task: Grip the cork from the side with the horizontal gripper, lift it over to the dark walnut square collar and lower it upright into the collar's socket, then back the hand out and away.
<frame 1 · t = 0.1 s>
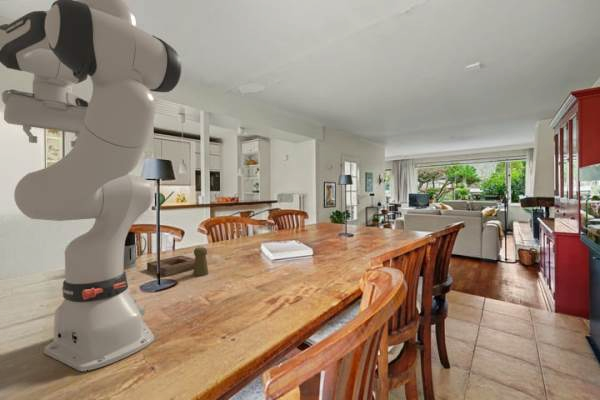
hand: (55, 145, 80), 48 cm above the table, tool pointing down, fingers open, 8 cm apart
walnut collar: (174, 268, 118), on the table
glass holder: (131, 267, 120), on the table
cork: (200, 274, 110), on the table
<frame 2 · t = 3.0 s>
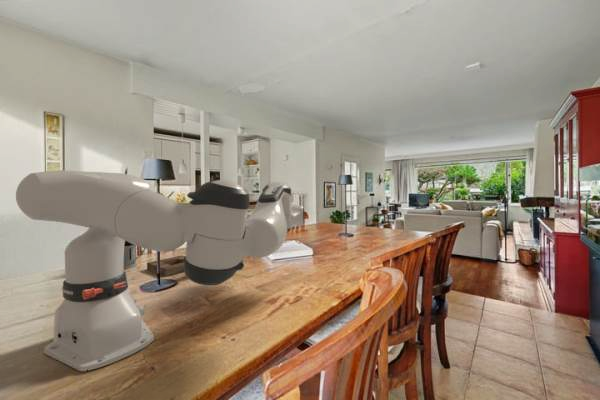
hand: (230, 217, 107), 24 cm above the table, tool horizontal, fingers open, 8 cm apart
nothing on the table moved.
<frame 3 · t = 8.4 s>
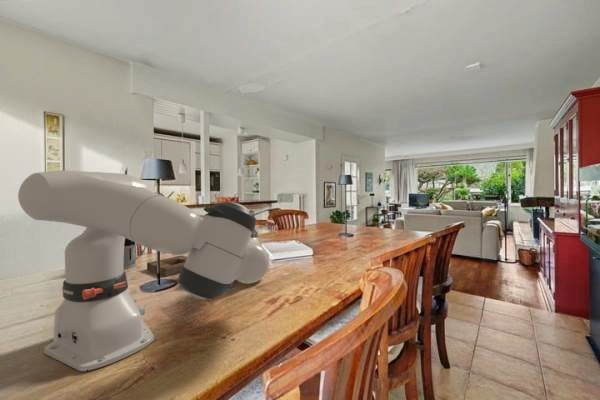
hand: (198, 258, 110), 7 cm above the table, tool horizontal, fingers closed on cork, 4 cm apart
cork: (200, 274, 110), on the table, touching gripper
everything else where it was.
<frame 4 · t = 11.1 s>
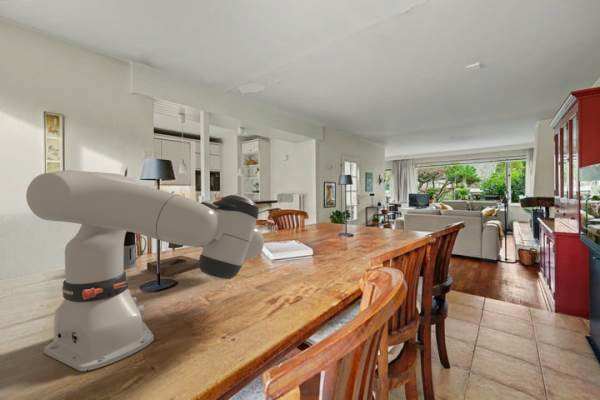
hand: (173, 230, 117), 17 cm above the table, tool horizontal, fingers closed on cork, 4 cm apart
cork: (175, 247, 117), point 9 cm above the table, touching gripper
everything else where it was.
when the fingers open (8 cm above the table, at t = 14.1 s): cork moves 1 cm, resting in walnut collar.
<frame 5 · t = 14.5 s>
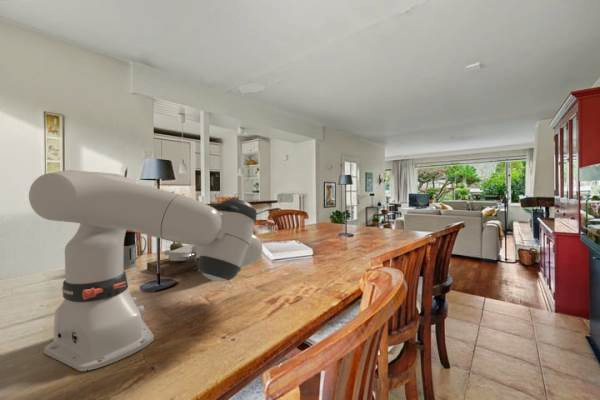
hand: (172, 250, 118), 8 cm above the table, tool horizontal, fingers open, 8 cm apart
cork: (176, 268, 119), resting in walnut collar
everything else where it was.
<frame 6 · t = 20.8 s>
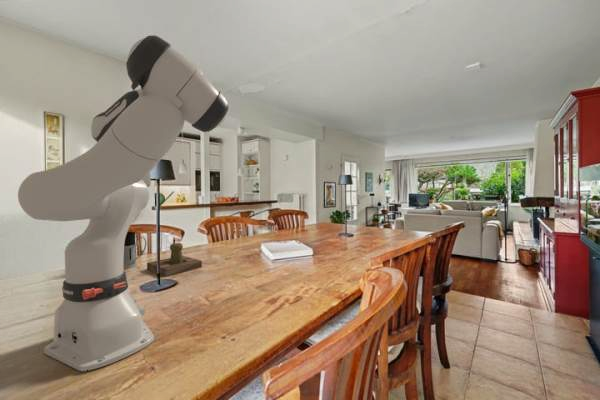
hand: (132, 199, 96), 31 cm above the table, tool pointing down, fingers open, 8 cm apart
nothing on the table moved.
at the end: cork 1.0 cm off-centre on the walnut collar, point 0.0 cm above the walnut collar's base; cork tilted 0°; the gripper is holding nothing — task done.
